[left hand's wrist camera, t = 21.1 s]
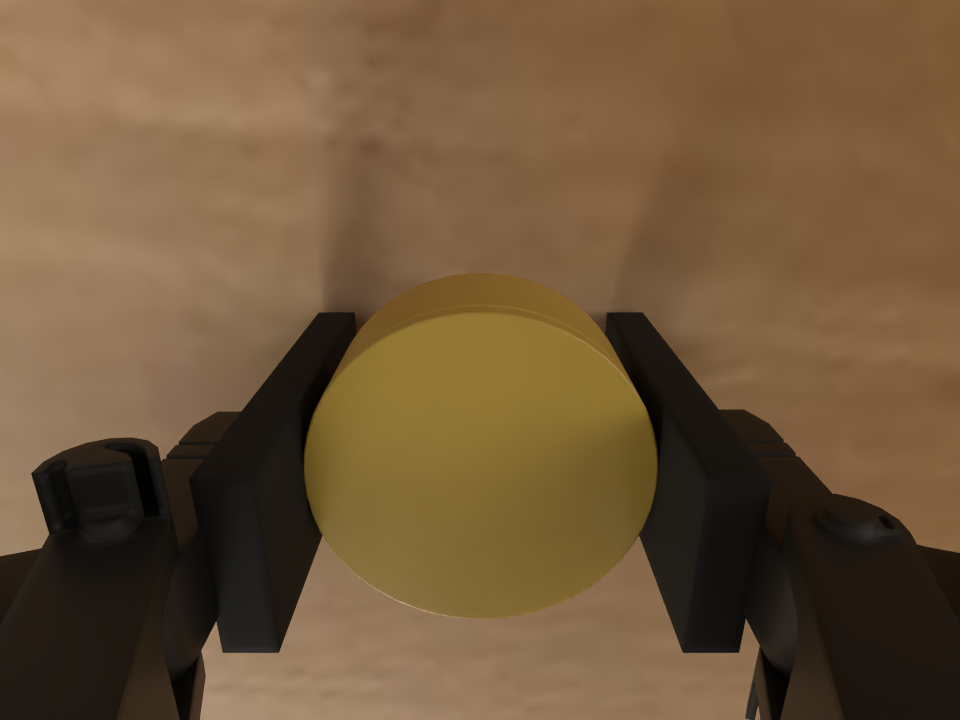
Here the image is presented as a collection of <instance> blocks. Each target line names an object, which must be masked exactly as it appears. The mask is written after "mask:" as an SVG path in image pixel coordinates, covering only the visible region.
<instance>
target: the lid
mask: <svg viewBox="0 0 960 720" xmlns="http://www.w3.org/2000/svg"><path fill="white" fill-rule="evenodd" d="M303 470H304V481H305V488H306V495H307V498H308V502H309V505H310V508H311V512H312V514H313V517H314V519H315V521H316V523H317V525H318V528H319V530H320V532H321V533H322V535H323V536H324V538H325V540H326V541H327V543H328V544H329V546H330V548H331V549H332V550H333V551H334V552H335V554H336V555H337V556H338V557H339V558H340V560H341V561H342V562H343V563H344V564H345V565H346V566H347V567H348V568H349V569H350V570H351V571H352V572H354V573H355V574H356V575H357V576H358V577H359V578H360V579H362V580H363V581H365V582H366V583H367V584H369V585H370V586H371V587H373V588H374V589H376V590H378V591H379V592H381V593H383V594H385V595H386V596H388V597H390V598H392V599H394V600H396V601H398V602H401V603H403V604H405V605H408V606H410V607H413V608H416V609H419V610H423V611H426V612H429V613H433V614H438V615H443V616H448V617H456V618H467V619H496V618H505V617H513V616H518V615H523V614H527V613H532V612H536V611H539V610H542V609H545V608H548V607H551V606H554V605H556V604H558V603H561V602H563V601H565V600H567V599H569V598H571V597H574V596H575V595H577V594H579V593H580V592H582V591H584V590H585V589H587V588H588V587H590V586H592V585H593V584H594V583H595V582H597V581H598V580H599V579H601V578H602V577H603V576H605V575H606V574H607V573H608V572H609V571H610V570H611V569H612V568H613V567H614V566H615V565H616V564H617V563H618V562H619V561H620V560H621V559H622V558H623V557H624V555H625V554H626V553H627V552H628V550H629V549H630V548H631V546H632V545H633V544H634V542H635V541H636V539H637V537H638V535H639V534H640V532H641V530H642V529H643V527H644V525H645V522H646V520H647V517H648V515H649V513H650V510H651V508H652V504H653V500H654V496H655V492H656V486H657V477H658V449H657V443H656V438H655V434H654V429H653V426H652V423H651V420H650V418H649V415H648V412H647V410H646V407H645V405H644V404H643V402H642V400H641V398H640V396H639V394H638V393H637V391H636V389H635V387H634V385H633V384H632V382H631V380H630V378H629V376H628V374H627V373H626V371H625V369H624V367H623V365H622V363H621V362H620V360H619V358H618V356H617V354H616V353H615V351H614V349H613V347H612V345H611V344H610V342H609V340H608V338H607V337H606V336H605V334H604V333H603V332H602V330H601V329H600V328H599V326H598V325H597V324H596V323H595V322H594V321H593V320H592V319H591V318H590V317H589V316H588V315H587V314H586V313H585V312H584V311H583V310H582V309H581V308H579V307H578V306H577V305H575V304H574V303H573V302H571V301H570V300H569V299H567V298H566V297H564V296H562V295H560V294H558V293H557V292H555V291H553V290H551V289H549V288H547V287H544V286H542V285H539V284H537V283H534V282H532V281H529V280H525V279H521V278H517V277H513V276H507V275H498V274H490V273H481V274H462V275H455V276H448V277H444V278H441V279H437V280H433V281H430V282H426V283H424V284H422V285H419V286H417V287H415V288H412V289H410V290H408V291H406V292H404V293H403V294H401V295H399V296H398V297H396V298H394V299H393V300H391V301H390V302H388V303H387V304H386V305H385V306H383V307H382V308H381V309H380V310H378V311H377V312H376V313H375V314H374V315H373V316H372V317H371V318H370V319H369V320H368V321H367V322H366V323H365V324H364V325H363V326H362V328H361V329H360V331H359V332H358V333H357V335H356V336H355V338H354V339H353V340H352V342H351V344H350V345H349V347H348V349H347V351H346V353H345V355H344V357H343V358H342V360H341V362H340V364H339V366H338V368H337V369H336V371H335V373H334V375H333V377H332V379H331V381H330V382H329V384H328V386H327V388H326V390H325V392H324V394H323V396H322V398H321V399H320V401H319V403H318V405H317V407H316V409H315V411H314V413H313V416H312V419H311V422H310V425H309V428H308V431H307V436H306V442H305V448H304V460H303Z"/></svg>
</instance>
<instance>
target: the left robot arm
mask: <svg viewBox="0 0 960 720" xmlns="http://www.w3.org/2000/svg"><path fill="white" fill-rule="evenodd" d="M355 336H356V327H355V314H354V313H318V315H317V316H316V317H315V318H314V320H313V321H312V322H311V324H310V325H309V326H308V327H307V329H306V330H305V331H304V332H303V334H302V335H301V336H300V338H299V339H298V340H297V341H296V343H295V344H294V345H293V347H292V348H291V349H290V350H289V352H288V353H287V354H286V355H285V357H284V358H283V359H282V361H281V362H280V363H279V364H278V366H277V367H276V368H275V369H274V371H273V372H272V373H271V375H270V376H269V377H268V378H267V380H266V381H265V382H264V384H263V385H262V386H261V387H260V389H259V390H258V391H257V392H256V394H255V395H254V396H253V398H252V399H251V400H250V401H249V403H248V404H247V405H246V406H245V408H244V409H243V410H242V412H217V413H215V414H213V415H211V416H210V417H208V418H206V419H204V420H203V421H201V422H199V423H197V424H195V425H194V426H193V427H192V428H191V429H190V430H189V431H188V432H187V433H186V435H185V436H184V437H183V438H182V439H181V440H180V441H179V445H176V446H175V447H174V448H173V449H172V450H171V451H170V452H169V453H168V455H167V458H166V459H163V460H162V461H161V459H160V455H159V450H158V447H157V446H155V445H154V444H152V443H151V442H150V441H148V440H142V439H137V438H110V439H104V440H99V441H94V442H89V443H85V444H82V445H79V446H76V447H74V448H71V449H68V450H65V451H62V452H61V453H59V454H57V455H55V456H53V457H51V458H50V459H48V460H46V461H44V462H43V463H42V464H41V465H40V466H39V467H38V468H37V469H35V470H34V471H33V472H32V473H31V474H32V478H33V481H34V484H35V488H36V491H37V494H38V498H39V501H40V504H41V507H42V511H43V514H44V517H45V521H46V524H47V527H48V531H49V536H48V538H47V540H46V541H45V543H44V545H43V547H42V548H41V549H37V550H31V551H26V552H21V553H15V554H10V555H5V556H0V720H200V713H201V706H202V699H203V691H204V684H205V668H204V662H203V657H202V652H201V650H202V648H203V646H204V644H205V642H206V640H207V638H208V636H209V634H210V632H211V630H212V628H213V626H214V624H215V622H216V621H217V626H218V631H219V636H220V641H221V646H222V651H223V653H279V651H280V648H281V645H282V643H283V640H284V637H285V635H286V632H287V629H288V627H289V624H290V621H291V619H292V616H293V613H294V610H295V608H296V605H297V602H298V600H299V597H300V594H301V592H302V589H303V586H304V584H305V581H306V578H307V575H308V573H309V570H310V567H311V565H312V562H313V559H314V557H315V554H316V551H317V549H318V546H319V543H320V540H321V538H322V533H321V532H320V530H319V528H318V525H317V523H316V521H315V519H314V517H313V514H312V512H311V508H310V505H309V502H308V498H307V495H306V488H305V481H304V470H303V460H304V448H305V442H306V436H307V431H308V428H309V425H310V422H311V419H312V416H313V413H314V411H315V409H316V407H317V405H318V403H319V401H320V399H321V398H322V396H323V394H324V392H325V390H326V388H327V386H328V384H329V382H330V381H331V379H332V377H333V375H334V373H335V371H336V369H337V368H338V366H339V364H340V362H341V360H342V358H343V357H344V355H345V353H346V351H347V349H348V347H349V345H350V344H351V342H352V340H353V339H354V338H355ZM605 336H606V337H607V338H608V340H609V342H610V344H611V345H612V347H613V349H614V351H615V353H616V354H617V356H618V358H619V360H620V362H621V363H622V365H623V367H624V369H625V371H626V373H627V374H628V376H629V378H630V380H631V382H632V384H633V385H634V387H635V389H636V391H637V393H638V394H639V396H640V398H641V400H642V402H643V404H644V405H645V407H646V410H647V412H648V415H649V418H650V420H651V423H652V426H653V429H654V434H655V438H656V443H657V449H658V477H657V486H656V492H655V496H654V500H653V504H652V508H651V510H650V513H649V515H648V517H647V520H646V522H645V525H644V527H643V529H642V530H641V532H640V534H639V536H640V539H641V541H642V544H643V547H644V549H645V552H646V555H647V558H648V560H649V563H650V566H651V568H652V571H653V574H654V576H655V579H656V582H657V584H658V587H659V590H660V592H661V595H662V598H663V601H664V603H665V606H666V609H667V611H668V614H669V617H670V619H671V622H672V625H673V627H674V630H675V633H676V635H677V638H678V641H679V644H680V646H681V649H682V652H683V653H739V650H740V645H741V640H742V635H743V630H744V625H745V620H746V619H747V621H748V623H749V625H750V627H751V629H752V631H753V633H754V635H755V637H756V639H757V641H758V643H759V644H760V648H759V652H758V657H757V662H756V666H755V671H754V676H753V680H752V685H751V690H750V695H749V699H748V704H747V711H746V719H750V720H755V716H756V711H757V707H758V706H759V712H760V719H761V720H960V553H956V552H951V551H945V550H940V549H935V548H930V547H925V546H921V545H917V544H916V542H915V540H914V538H913V537H912V535H911V533H910V532H909V531H908V530H907V528H906V527H905V526H904V525H903V524H902V523H901V522H900V520H898V519H897V518H895V517H894V516H892V515H891V514H889V513H888V512H886V511H884V510H883V509H881V508H879V507H877V506H874V505H872V504H869V503H867V502H865V501H862V500H860V499H856V498H852V497H847V496H843V495H839V494H832V493H831V492H830V490H829V489H828V488H827V487H826V486H825V485H824V484H823V483H822V482H821V481H820V479H819V478H818V477H817V476H816V475H815V474H814V473H813V472H812V471H811V469H810V468H809V467H808V466H807V465H806V464H805V463H804V462H803V461H802V460H801V458H800V457H796V453H795V452H794V451H793V450H792V449H791V447H790V446H789V445H788V444H787V443H784V442H783V439H782V438H781V436H780V435H779V434H778V433H777V432H776V431H775V430H774V429H773V428H772V427H771V425H770V424H769V423H767V422H765V421H763V420H762V419H760V418H758V417H756V416H755V415H753V414H751V413H749V412H747V411H746V410H719V409H718V408H717V407H716V405H715V404H714V403H713V402H712V400H711V399H710V398H709V397H708V395H707V394H706V393H705V391H704V390H703V389H702V388H701V386H700V385H699V384H698V383H697V381H696V380H695V379H694V377H693V376H692V375H691V374H690V372H689V371H688V370H687V369H686V367H685V366H684V365H683V363H682V362H681V361H680V360H679V358H678V357H677V356H676V355H675V353H674V352H673V351H672V349H671V348H670V347H669V346H668V344H667V343H666V342H665V341H664V339H663V338H662V337H661V335H660V334H659V333H658V332H657V330H656V329H655V328H654V327H653V325H652V324H651V323H650V321H649V320H648V319H647V318H646V316H645V315H644V314H643V313H607V322H606V335H605Z"/></svg>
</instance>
